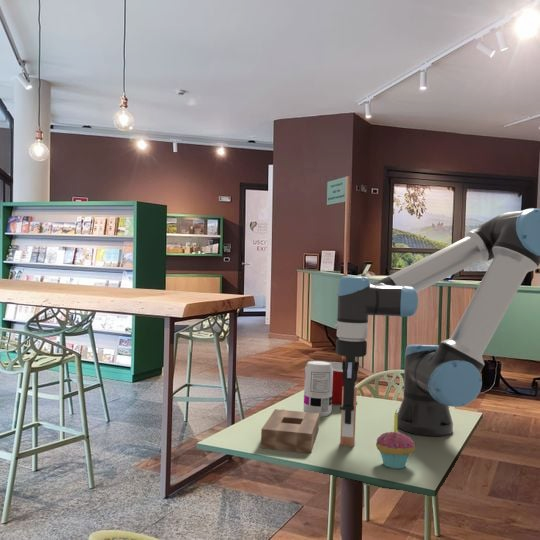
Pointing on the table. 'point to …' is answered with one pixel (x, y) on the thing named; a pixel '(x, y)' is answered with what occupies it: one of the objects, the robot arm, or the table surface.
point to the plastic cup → (337, 383)
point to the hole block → (290, 431)
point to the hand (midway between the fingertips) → (347, 433)
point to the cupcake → (395, 447)
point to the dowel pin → (351, 440)
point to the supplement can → (318, 387)
